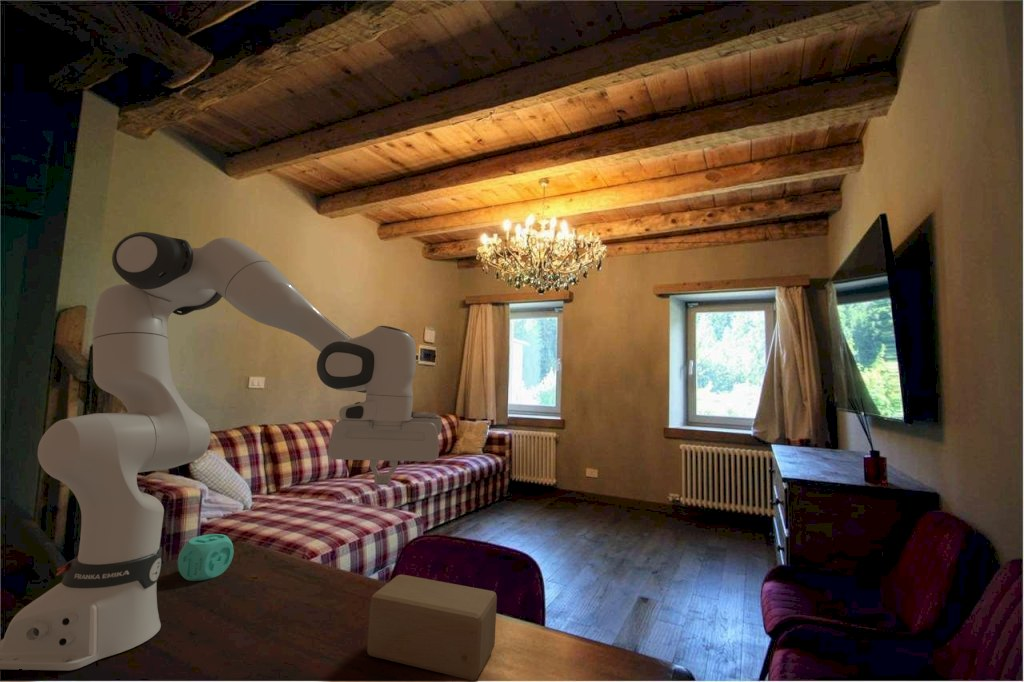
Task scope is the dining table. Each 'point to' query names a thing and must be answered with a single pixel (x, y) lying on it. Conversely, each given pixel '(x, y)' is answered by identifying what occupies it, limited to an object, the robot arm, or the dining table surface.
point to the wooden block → (433, 625)
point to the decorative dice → (205, 557)
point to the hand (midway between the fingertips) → (382, 484)
